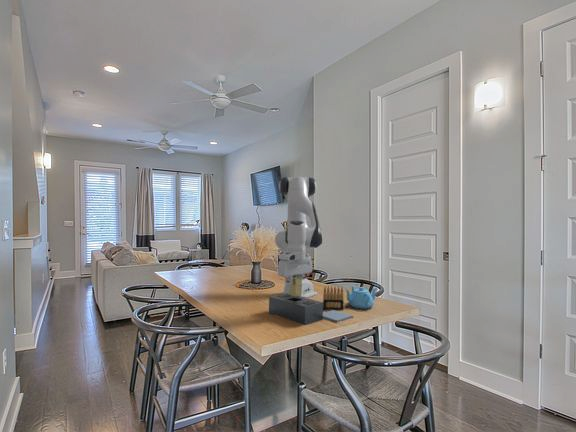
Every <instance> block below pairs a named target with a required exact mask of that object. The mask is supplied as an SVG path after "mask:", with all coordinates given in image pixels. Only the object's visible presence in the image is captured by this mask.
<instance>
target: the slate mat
mask: <svg viewBox="0 0 576 432" xmlns="http://www.w3.org/2000/svg"><path fill="white" fill-rule="evenodd" d="M352 317H353V318H354V314H349V313H345V312H342V311H340V310H327V311H323V320H327V321H331V322H334V323H337V322H338V323H340V321H341V322H343V320H344V321H347V320H349V318H350V319H353V318H352ZM346 319H347V320H346Z"/></svg>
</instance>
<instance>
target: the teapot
mask: <svg viewBox="0 0 576 432" xmlns="http://www.w3.org/2000/svg"><path fill="white" fill-rule="evenodd" d="M350 286H351V291H350V290H349V289H348V288H344V290H345V291H346V301H348V304H349V305H350V306H351V308H355V309H359V308H360V310H363V309H365V310H366V309H367V308H368V309H371V308H372V307H373V306H374V301H375V298H376V290H377V289H378V287H373V289H372V292H370V291H369V290H368V289H364V287H363V286H359V287H358V288H356V287H355V286H354V285H353V284H350Z"/></svg>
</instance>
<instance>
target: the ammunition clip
mask: <svg viewBox="0 0 576 432" xmlns="http://www.w3.org/2000/svg"><path fill="white" fill-rule="evenodd" d="M322 295H323V297H322V302H323V311H325V310H326V311H331V310H335V311H344V310H345V309H344V287H343V286H341V288H340V286H337V287H336V286H334V287H333V286H329V285H328V286H327V288H326V286H324V287H323V294H322Z"/></svg>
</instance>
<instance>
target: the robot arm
mask: <svg viewBox="0 0 576 432" xmlns="http://www.w3.org/2000/svg"><path fill="white" fill-rule="evenodd" d="M278 183H279V184H278V189H279V192H280V194H281V195H284V196H287V216H286V217H287V221H288V226H287V227H288V228H287V230H283V231H278V232H277V233H276V234H275V236H274V243H275V245H276V247H277V248H278V249H280V251H281V252H282V253H280V254H279V255H278V259H279V260H278V266H277V275H278V276H279V277H281V278H285V280H284V287H283V291H282V294H285V293H288V294H290V285H294V281H293V280H292V278H293V277H298V278H302V292H301V295H300V297H304V298H308V299H309V298H310V297H311V298H312V297H313V296H317V295H318V292H317V291H314V284H313V283H312V282H311V281H310V280H308V278H307V277H309V276H310V275H309V274H311V273H312V272H313V261H312V256H311V255H310V254H309V253H307V254H306V252H307V251H306V250H312V249H317V248H319V247H320V246H321V245H322V244H323V240H324V236H323V232H322V230H321V229H322V228H321V226H320V223H319V216H318V213H317V209H316V205H315V202H313V201H311V200H310V197H312V196H313V195H314V194H316V192H317V188H318V187H317V185H318V184H317V182H316V179H315V178H313V177H306V176H291V177H290V176H289V177H288V176H285V177H282V178H281V179H280V181H279V182H278ZM307 216H308V218H309V221H310V227H309V225H308V223H307Z"/></svg>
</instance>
